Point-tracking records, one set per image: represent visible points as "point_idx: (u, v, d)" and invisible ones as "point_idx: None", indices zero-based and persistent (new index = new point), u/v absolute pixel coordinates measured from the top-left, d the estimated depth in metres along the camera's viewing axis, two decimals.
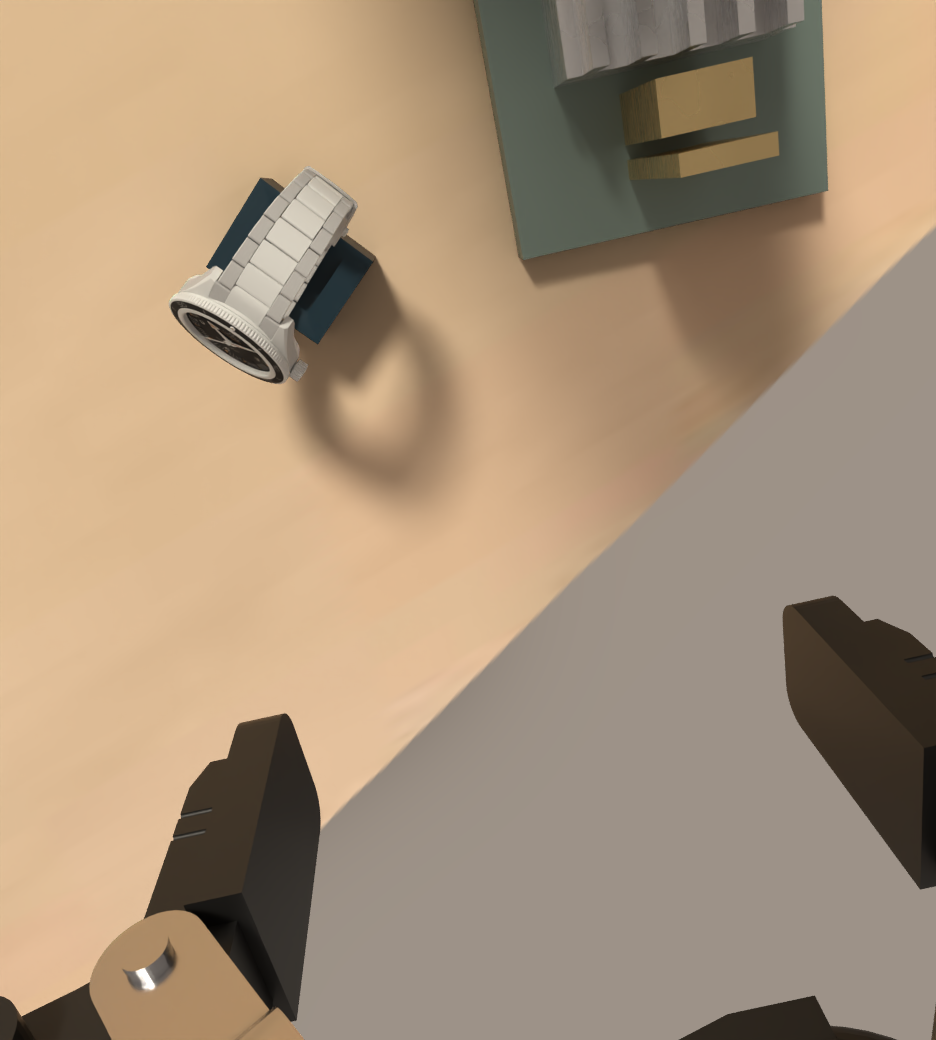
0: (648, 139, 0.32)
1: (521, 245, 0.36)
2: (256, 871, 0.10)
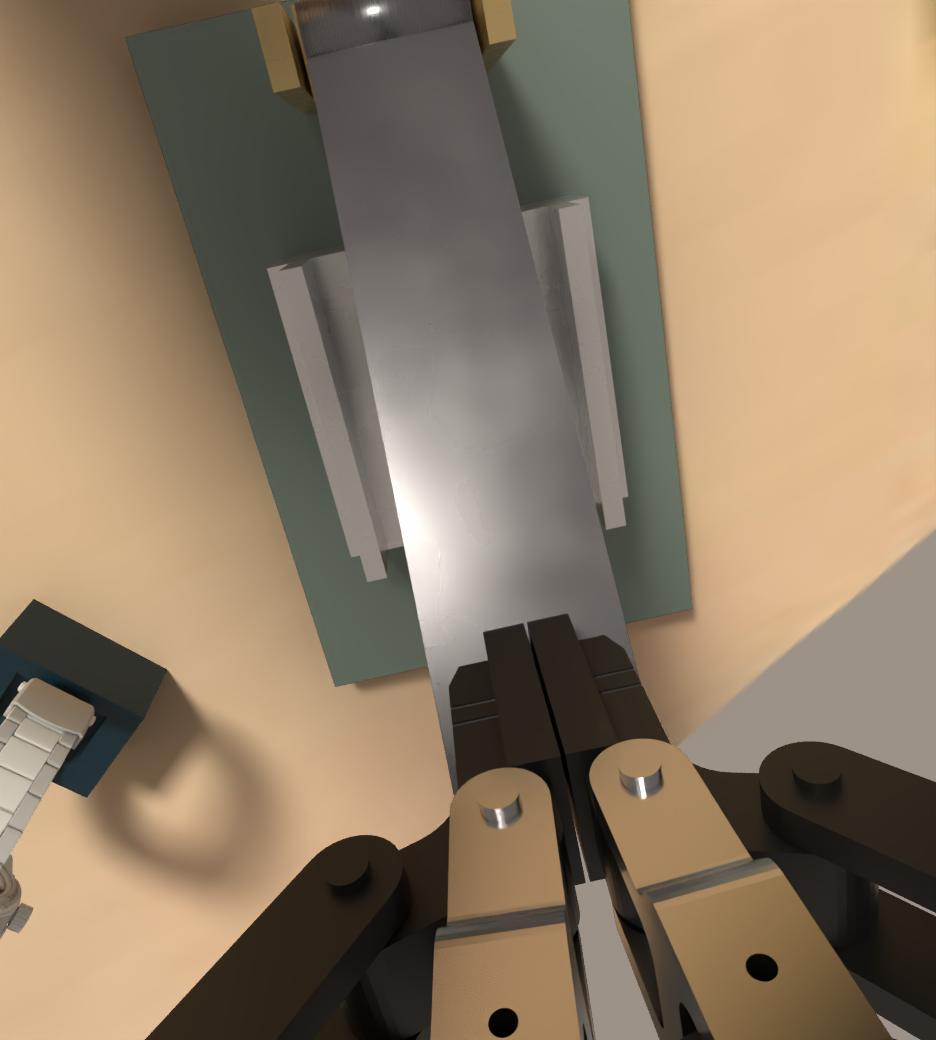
0: None
1: (331, 673, 0.31)
2: None
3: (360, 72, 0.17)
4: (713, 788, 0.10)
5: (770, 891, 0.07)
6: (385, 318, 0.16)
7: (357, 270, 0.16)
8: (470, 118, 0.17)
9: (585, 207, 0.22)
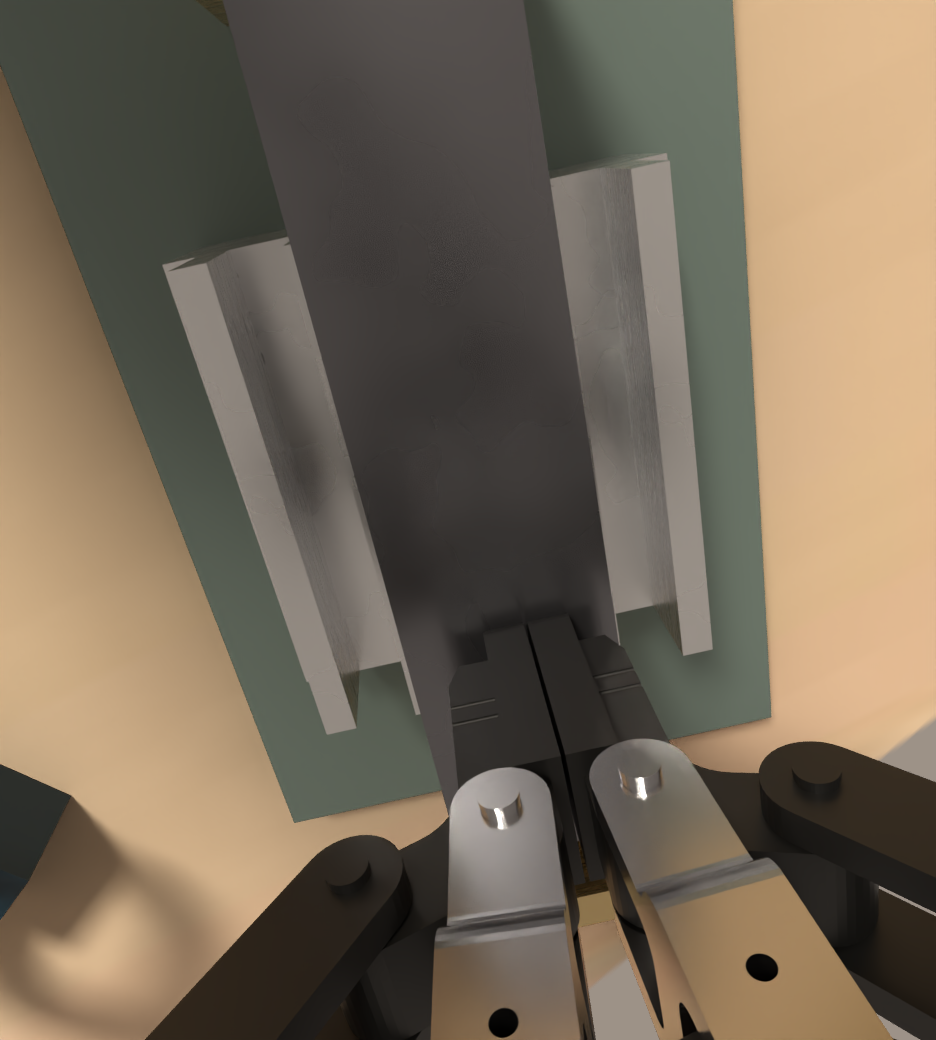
0: None
1: (289, 806, 0.23)
2: None
3: None
4: (713, 788, 0.10)
5: (770, 891, 0.07)
6: (373, 411, 0.12)
7: (329, 340, 0.11)
8: (491, 75, 0.10)
9: None
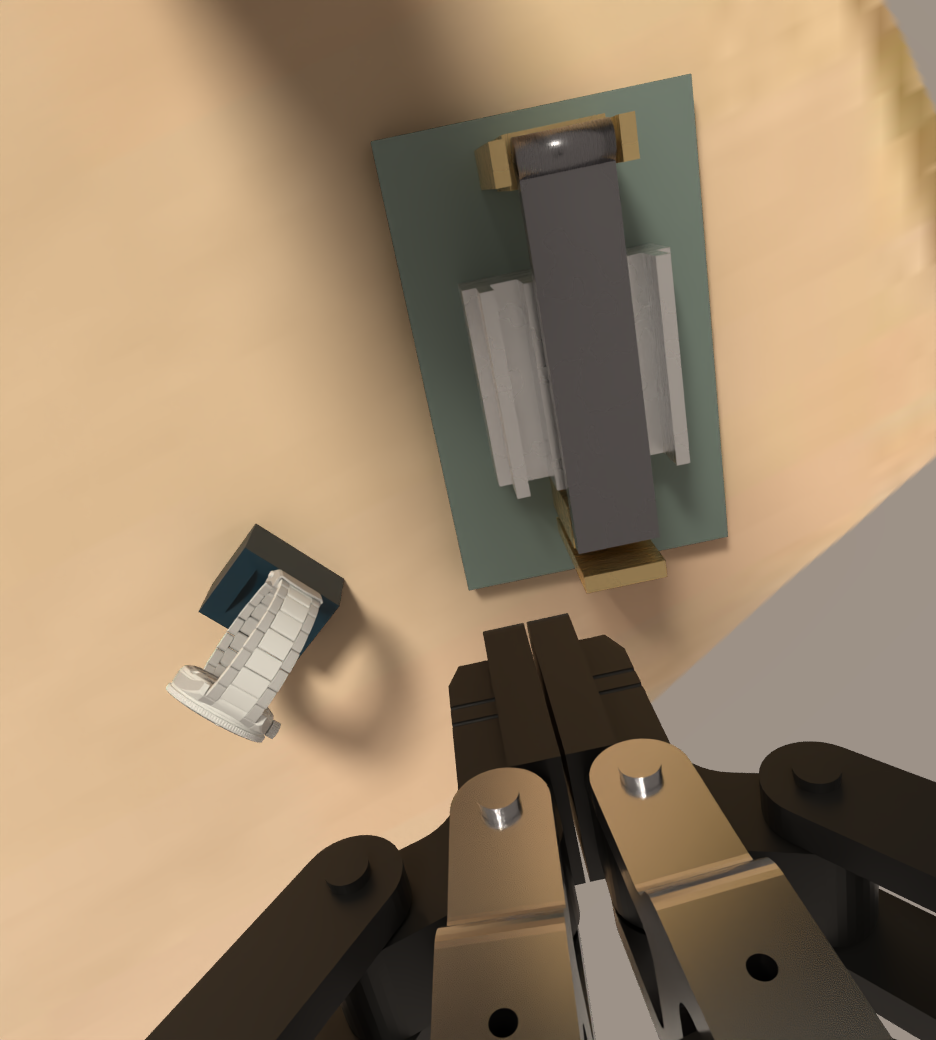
0: (567, 532, 0.38)
1: (467, 580, 0.43)
2: None
3: (550, 193, 0.30)
4: (713, 788, 0.10)
5: (770, 891, 0.07)
6: (559, 345, 0.32)
7: (545, 318, 0.32)
8: (609, 228, 0.31)
9: (668, 253, 0.34)
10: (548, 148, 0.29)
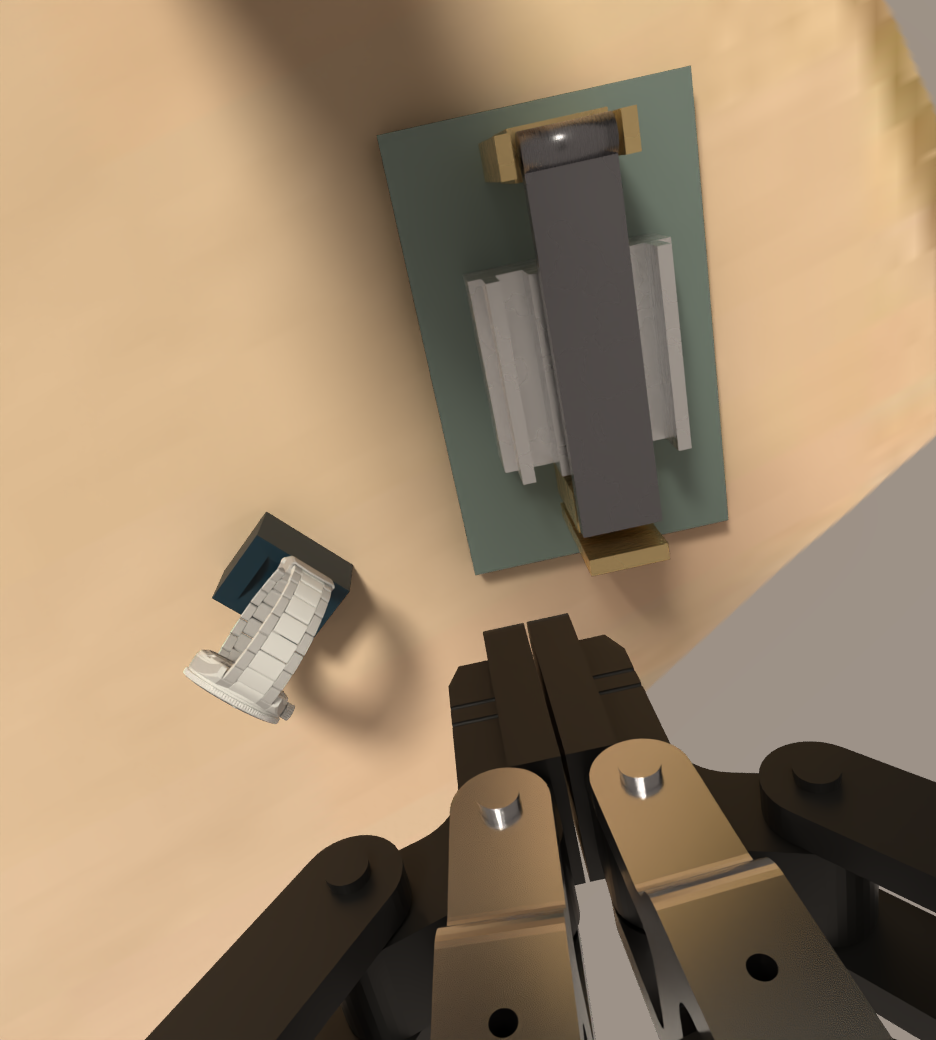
0: (571, 517, 0.39)
1: (473, 564, 0.44)
2: None
3: (554, 185, 0.31)
4: (713, 788, 0.10)
5: (770, 891, 0.07)
6: (563, 334, 0.33)
7: (550, 308, 0.32)
8: (612, 219, 0.31)
9: (669, 243, 0.35)
10: (552, 142, 0.30)
